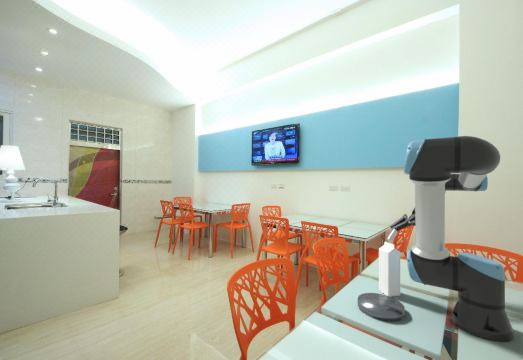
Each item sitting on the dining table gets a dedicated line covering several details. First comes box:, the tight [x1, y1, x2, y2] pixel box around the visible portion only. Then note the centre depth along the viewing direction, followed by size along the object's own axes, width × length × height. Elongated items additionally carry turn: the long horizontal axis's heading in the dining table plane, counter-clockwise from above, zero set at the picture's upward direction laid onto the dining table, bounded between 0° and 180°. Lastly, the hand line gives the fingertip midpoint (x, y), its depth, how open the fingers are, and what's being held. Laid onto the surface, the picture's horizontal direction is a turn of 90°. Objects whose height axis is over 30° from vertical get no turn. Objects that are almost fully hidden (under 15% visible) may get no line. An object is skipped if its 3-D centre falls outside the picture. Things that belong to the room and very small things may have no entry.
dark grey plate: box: [357, 292, 406, 322], centre depth 90 cm, size 16×16×2 cm
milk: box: [378, 241, 401, 298], centre depth 104 cm, size 6×6×22 cm
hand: (402, 244), depth 107 cm, fingers open, 13 cm apart
